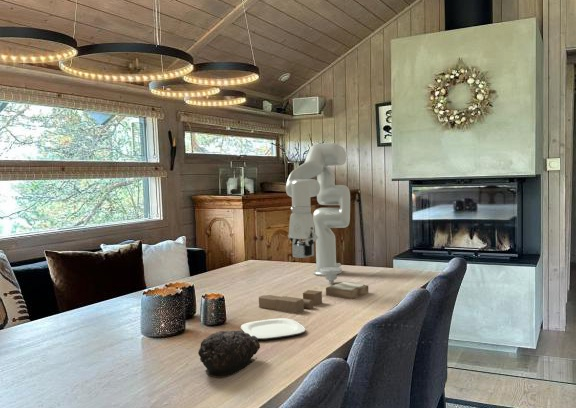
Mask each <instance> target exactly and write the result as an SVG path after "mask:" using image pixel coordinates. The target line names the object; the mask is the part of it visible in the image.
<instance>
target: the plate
mask: <svg viewBox="0 0 576 408" xmlns="http://www.w3.org/2000/svg"><path fill="white" fill-rule="evenodd" d="M240 329H241V332H243V333H248V334H249V335H250V336H256V337H257V338H258V340H275V339H282V338H289V337H291V336H297V335H301V334H303V333H305V332H306V328H305V327H304V326H303V325H302V324H301V323H299V322H298V321H296V320H295V319H292V318H287V317H285V318H284V317H283V318H282V317H280V318H279V317H278V318H269V319H263V320H262V319H261V320H255V321H249V322H245V323H243V324H241V326H240Z"/></svg>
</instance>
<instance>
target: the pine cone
mask: <svg viewBox="0 0 576 408" xmlns="http://www.w3.org/2000/svg"><path fill="white" fill-rule="evenodd" d="M258 340H259V339H258V338H257V337H256V336H250V335H249V334H248V333H244V332H243V331H242V330H225V331H224V330H220V331H216V332H214V333H211V334H209V335H208V336H207V337H206V338H204V339H203V340H202V341H201V342H200V347H199V349H198V352H197V353H198V356H199V357H200V362H201V363H202V364H203V366H204V367H205V368H206V370H205V373H206V374H207V375H208V376H211V377H212V378H213V377H214V378H220V379H222V378H226V377H230V376H233V375H235V374H237V373H239V372H240V371H243V370H245V369H246V368H247V367H249V366H250V365H252V364H253V363H254V362H256V360H257V359H258V358H257V357H254V356H255V355H257V353H258V351H259V350H260V348H261V345H260V342H259V341H258ZM253 357H254V358H253Z"/></svg>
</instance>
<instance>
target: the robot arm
mask: <svg viewBox="0 0 576 408" xmlns="http://www.w3.org/2000/svg"><path fill="white" fill-rule="evenodd" d="M346 162H347V152H346V150H345V148H344V147H343V146H341V145H340V144H338V143H335V142H333V143H331V142H328V143H315V144H313V145H311V146H310V148H309V150H308V152H307V155H306V158H305V160H304V162H303V163H302V164H300V165H299V166H297V167H296V168H294V169H293V170H292V171H291V172H290V174H289V175H288V177H287V181H286V184H285V192H286V195H287V196H289V198H291V207H290V211H291V214H290V217H289V224H288V225H289V227H288V234H287V239H289V240H290V242H291V244H292V245H294V244H297V241H300V240H304V241H306V244H307V246H306V256H310V255H312V245H313V243H315V264H316V265H315V267H316V269H314V270H313V271H312V272H313V275H315V276H323V277H326V274H323V273H321V272H320V269H321V268H325V267H339V268H341V266H342V264H341V262H337V246H336V244H337V243H336V240H337V239H336V235H335V233H334V232H333V231H332V229H337V228H338V229H341V228H342V229H343V228H344V229H345V228H347V227H349V225H350V221H351V191H350V188H349V187H348V186H347V185H345V184H338V185H337V184H335V183H336V181H335V179H336V176H335V173H334V172H333V170H332V169H331V168H330V167H335V166H343V165H345V164H346ZM315 177H316V179H315ZM314 197H316V201H317V203H318V204H319V205H321V206H339V207H319V208H316V209H315V210H314V211H313V213H312V211H311V210H312V208H311V205H312V204H311V203H312V202H311V198H314ZM310 257H311V256H310Z"/></svg>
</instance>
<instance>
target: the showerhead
mask: <svg viewBox="0 0 576 408" xmlns="http://www.w3.org/2000/svg"><path fill="white" fill-rule="evenodd" d="M320 272H321V273H323V274H326V276H325V280H327V281H328V284H329V285H334V284H335V280H337V279H338V275H339V274H341V273H342V272H343V268H341V267H325V268H321V269H320ZM333 283H334V284H333Z"/></svg>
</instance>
